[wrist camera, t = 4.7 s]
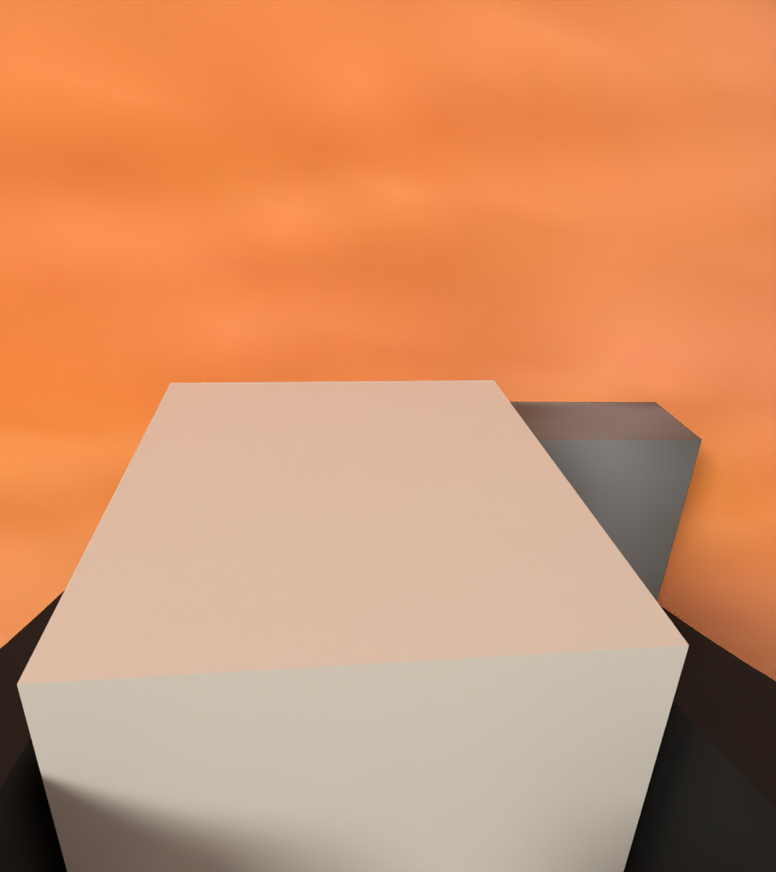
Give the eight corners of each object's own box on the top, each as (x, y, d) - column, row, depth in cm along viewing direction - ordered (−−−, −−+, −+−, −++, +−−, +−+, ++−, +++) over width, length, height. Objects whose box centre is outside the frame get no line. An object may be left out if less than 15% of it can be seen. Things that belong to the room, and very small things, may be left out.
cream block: (198, 640, 12) (115, 1054, 7) (170, 382, 10) (17, 684, 5) (467, 626, 13) (587, 995, 7) (493, 379, 11) (687, 645, 5)
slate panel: (256, 709, 24) (249, 784, 21) (242, 394, 19) (231, 440, 16) (579, 692, 25) (612, 761, 22) (648, 396, 20) (701, 439, 17)
